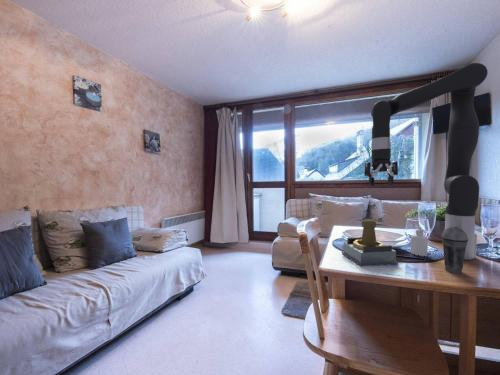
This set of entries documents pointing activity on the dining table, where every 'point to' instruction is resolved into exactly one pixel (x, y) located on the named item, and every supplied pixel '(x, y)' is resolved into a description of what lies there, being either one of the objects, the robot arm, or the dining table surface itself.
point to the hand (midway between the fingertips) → (381, 185)
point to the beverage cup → (454, 248)
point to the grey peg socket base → (369, 253)
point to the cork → (368, 233)
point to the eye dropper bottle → (419, 243)
